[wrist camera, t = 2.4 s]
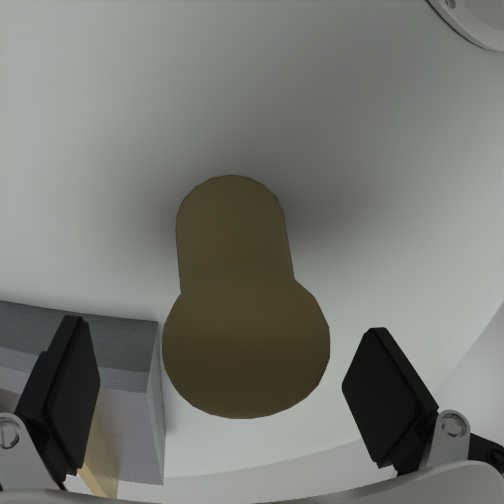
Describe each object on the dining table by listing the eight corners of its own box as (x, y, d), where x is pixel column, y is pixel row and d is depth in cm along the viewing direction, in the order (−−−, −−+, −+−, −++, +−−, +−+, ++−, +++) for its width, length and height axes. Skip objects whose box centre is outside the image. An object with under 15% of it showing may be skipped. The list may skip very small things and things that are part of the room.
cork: (281, 272, 20) (336, 430, 10) (180, 277, 19) (163, 444, 9) (287, 174, 17) (382, 292, 7) (171, 177, 16) (116, 307, 7)
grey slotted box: (158, 321, 20) (139, 449, 12) (165, 431, 27) (162, 519, 18) (-58, 288, 17) (-115, 361, 9) (-8, 395, 23) (-35, 463, 15)
